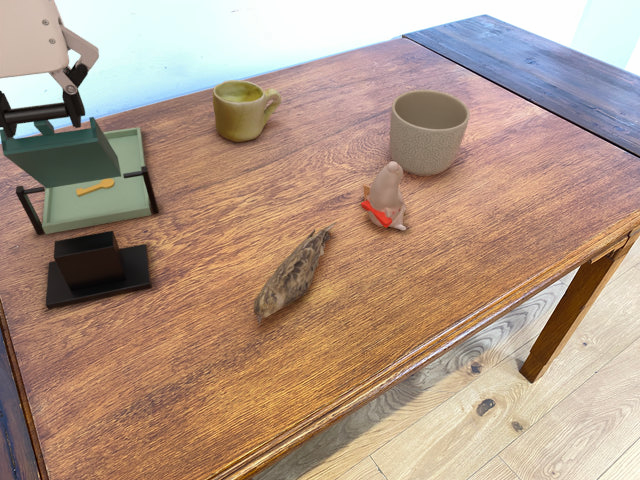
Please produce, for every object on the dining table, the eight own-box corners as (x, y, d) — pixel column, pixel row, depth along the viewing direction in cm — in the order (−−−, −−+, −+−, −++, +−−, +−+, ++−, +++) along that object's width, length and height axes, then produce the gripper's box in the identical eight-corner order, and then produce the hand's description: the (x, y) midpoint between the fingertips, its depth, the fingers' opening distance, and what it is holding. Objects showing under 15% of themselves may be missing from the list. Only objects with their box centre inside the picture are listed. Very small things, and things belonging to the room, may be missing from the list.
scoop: (89, 127, 55) (83, 97, 55) (-14, 142, 53) (-19, 110, 53) (121, 176, 73) (117, 153, 74) (46, 188, 71) (42, 164, 72)
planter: (387, 185, 85) (395, 129, 78) (381, 142, 94) (389, 88, 86) (461, 187, 85) (477, 131, 78) (449, 144, 94) (462, 90, 86)
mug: (209, 142, 89) (213, 84, 85) (209, 127, 98) (214, 74, 94) (278, 151, 92) (286, 94, 88) (273, 135, 101) (279, 84, 97)
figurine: (420, 220, 79) (429, 165, 70) (390, 245, 77) (396, 191, 67) (377, 189, 84) (380, 134, 74) (348, 212, 81) (347, 158, 71)
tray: (151, 215, 79) (149, 207, 78) (45, 234, 75) (41, 226, 74) (141, 134, 94) (139, 126, 93) (53, 147, 91) (50, 139, 89)
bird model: (285, 332, 60) (254, 304, 60) (263, 343, 65) (234, 317, 64) (360, 224, 73) (335, 200, 73) (338, 239, 78) (314, 217, 77)
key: (116, 183, 83) (116, 185, 83) (111, 176, 84) (111, 178, 84) (79, 197, 80) (80, 199, 80) (74, 189, 81) (75, 191, 82)
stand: (168, 284, 69) (156, 242, 63) (29, 313, 65) (2, 271, 60) (158, 207, 80) (146, 165, 74) (38, 228, 76) (16, 186, 70)
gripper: (76, -71, 49) (124, 98, 62) (-132, -58, 45) (-35, 120, 58) (74, -48, 44) (127, 132, 57) (-160, -30, 40) (-46, 158, 53)
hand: (45, 124), depth 57 cm, fingers closed on scoop, 6 cm apart
